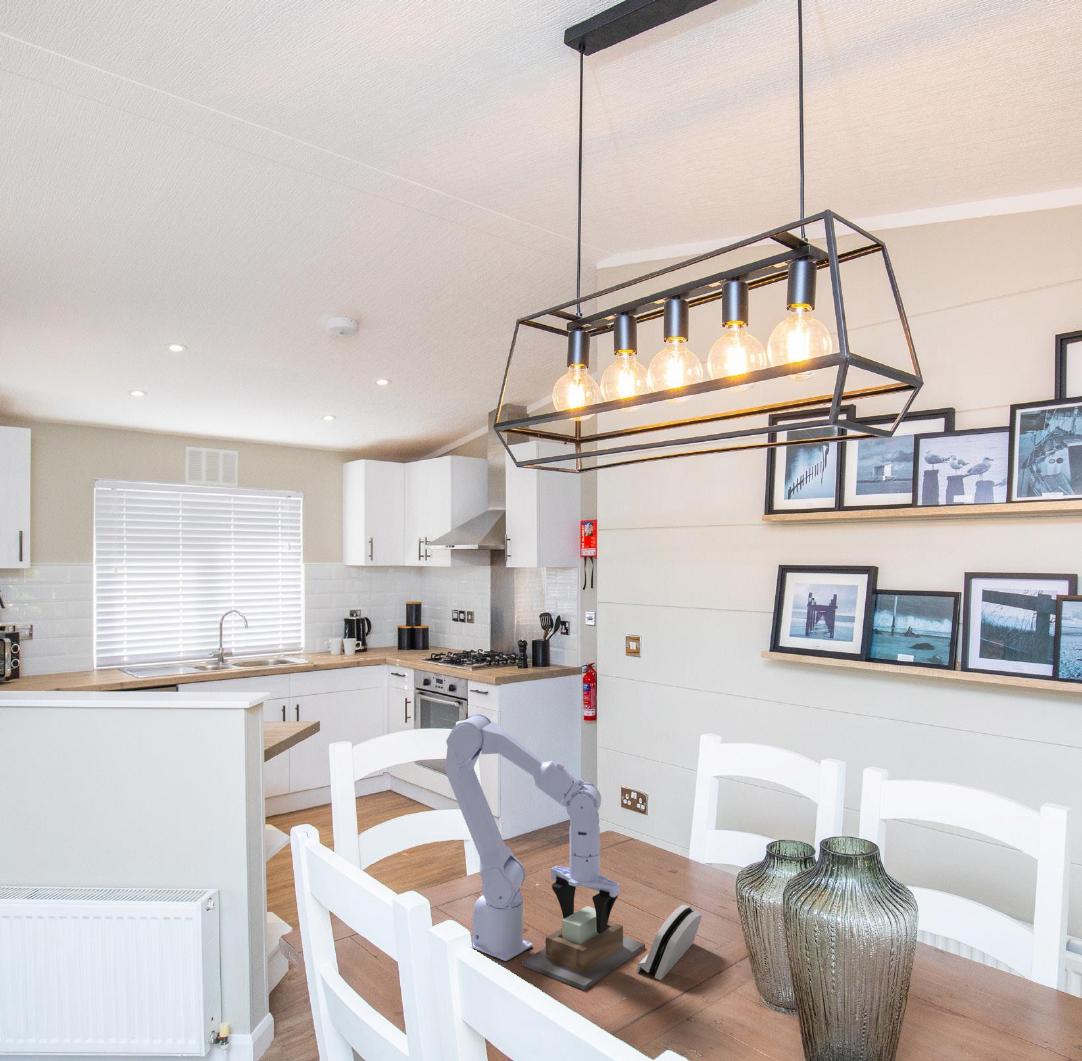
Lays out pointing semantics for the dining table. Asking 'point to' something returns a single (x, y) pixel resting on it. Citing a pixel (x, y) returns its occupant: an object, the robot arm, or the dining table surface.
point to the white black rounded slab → (671, 941)
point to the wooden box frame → (584, 956)
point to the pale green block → (580, 926)
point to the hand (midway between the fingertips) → (584, 925)
